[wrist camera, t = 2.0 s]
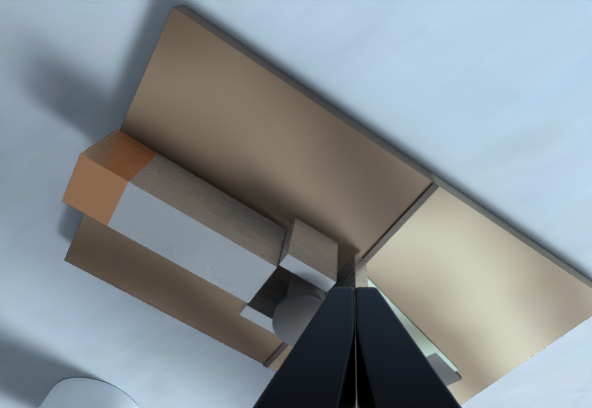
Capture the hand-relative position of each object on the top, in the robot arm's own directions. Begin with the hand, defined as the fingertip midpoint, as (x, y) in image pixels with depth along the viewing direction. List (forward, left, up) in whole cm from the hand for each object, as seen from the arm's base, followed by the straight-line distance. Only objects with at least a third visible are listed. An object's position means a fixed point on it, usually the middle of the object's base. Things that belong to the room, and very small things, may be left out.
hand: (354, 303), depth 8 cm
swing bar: (-7, +2, -10) cm, 13 cm away
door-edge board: (-8, -5, -12) cm, 15 cm away
